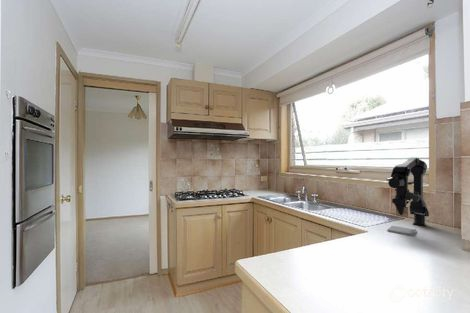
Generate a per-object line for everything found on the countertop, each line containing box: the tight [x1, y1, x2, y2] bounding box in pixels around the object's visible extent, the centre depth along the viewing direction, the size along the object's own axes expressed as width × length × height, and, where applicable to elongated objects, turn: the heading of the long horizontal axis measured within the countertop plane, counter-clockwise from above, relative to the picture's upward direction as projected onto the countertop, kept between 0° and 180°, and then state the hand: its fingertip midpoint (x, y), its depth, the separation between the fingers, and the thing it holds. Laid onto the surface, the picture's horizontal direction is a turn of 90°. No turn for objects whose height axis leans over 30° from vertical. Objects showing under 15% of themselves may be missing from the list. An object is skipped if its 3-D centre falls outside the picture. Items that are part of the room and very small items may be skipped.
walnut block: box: [395, 206, 409, 218], centre depth 137 cm, size 5×5×5 cm
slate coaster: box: [387, 225, 418, 237], centre depth 137 cm, size 12×12×1 cm
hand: (402, 214), depth 137 cm, fingers closed on walnut block, 5 cm apart
